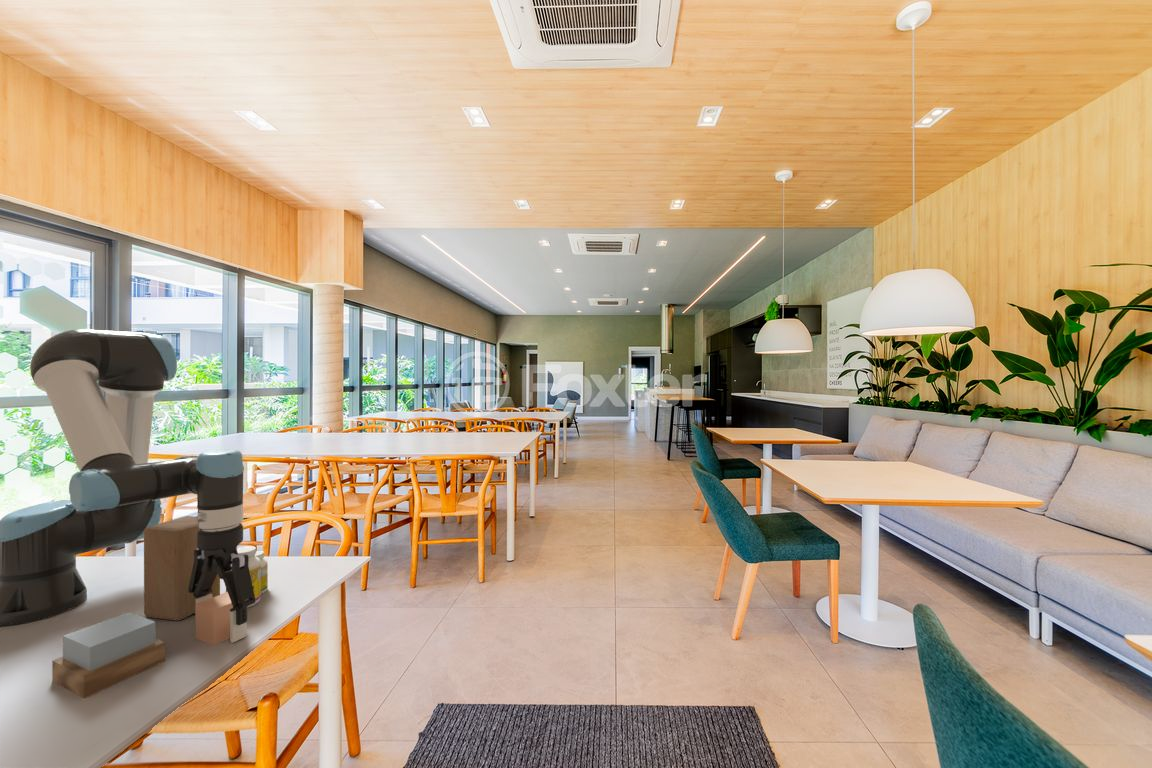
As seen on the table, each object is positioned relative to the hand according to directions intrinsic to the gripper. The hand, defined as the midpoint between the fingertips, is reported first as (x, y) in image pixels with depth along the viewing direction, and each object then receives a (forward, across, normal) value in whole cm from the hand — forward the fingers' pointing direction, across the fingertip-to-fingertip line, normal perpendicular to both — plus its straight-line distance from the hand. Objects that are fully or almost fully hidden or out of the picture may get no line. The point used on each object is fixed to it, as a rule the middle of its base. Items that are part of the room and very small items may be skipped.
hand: (221, 633), depth 96 cm
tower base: (+1, -5, -15) cm, 16 cm away
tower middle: (-3, -5, -15) cm, 16 cm away
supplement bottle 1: (0, -9, +10) cm, 13 cm away
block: (0, -19, +3) cm, 19 cm away
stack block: (0, 0, 0) cm, 0 cm away
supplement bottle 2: (0, -13, +15) cm, 20 cm away
